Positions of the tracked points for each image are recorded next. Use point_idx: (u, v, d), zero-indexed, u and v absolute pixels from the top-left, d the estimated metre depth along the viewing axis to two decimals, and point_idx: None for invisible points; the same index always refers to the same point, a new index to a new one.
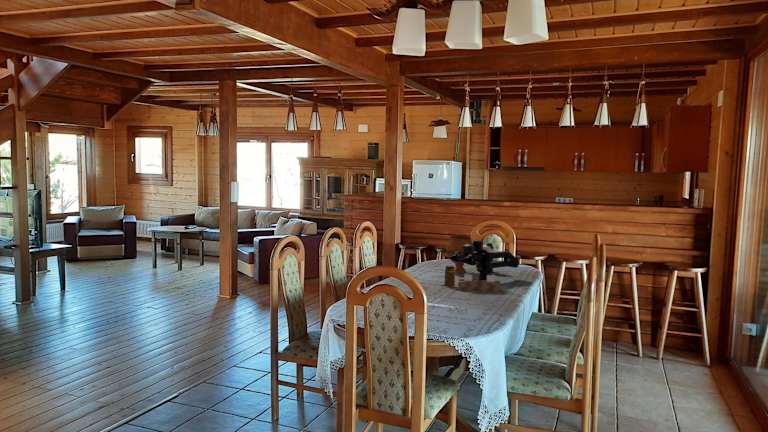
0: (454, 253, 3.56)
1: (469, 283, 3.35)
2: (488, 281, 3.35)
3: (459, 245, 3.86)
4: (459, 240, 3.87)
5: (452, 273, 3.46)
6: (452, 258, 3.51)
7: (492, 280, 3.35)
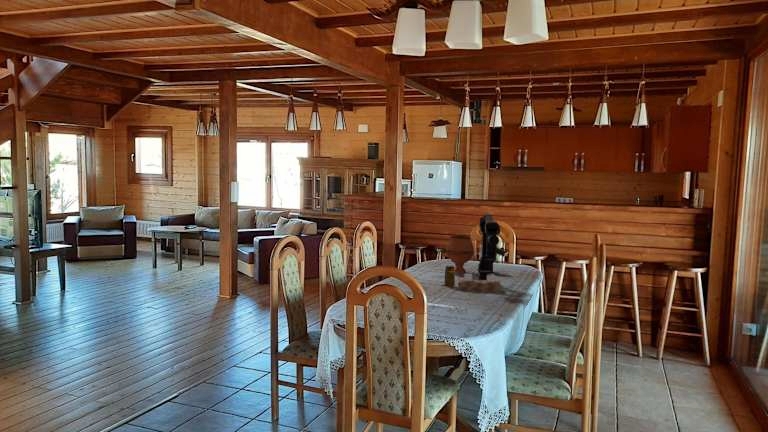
0: (494, 260, 3.29)
1: (469, 283, 3.35)
2: (488, 281, 3.35)
3: (459, 245, 3.86)
4: (459, 240, 3.87)
5: (452, 273, 3.46)
6: None
7: (492, 280, 3.35)
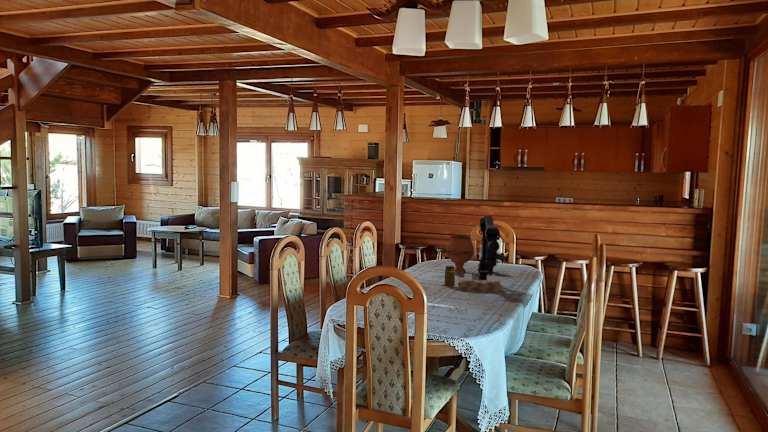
0: None
1: (469, 283, 3.35)
2: (488, 281, 3.35)
3: (459, 245, 3.86)
4: (459, 240, 3.87)
5: (452, 273, 3.46)
6: None
7: (492, 280, 3.35)
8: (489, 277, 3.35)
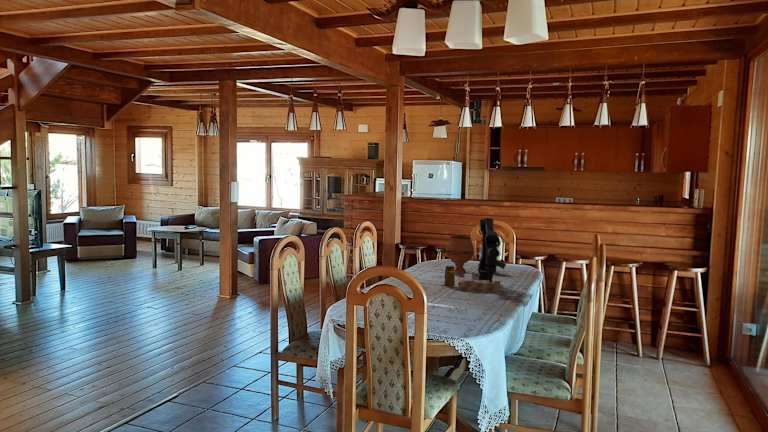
0: None
1: (469, 283, 3.35)
2: None
3: (459, 245, 3.86)
4: (459, 240, 3.87)
5: (452, 273, 3.46)
6: None
7: None
8: None
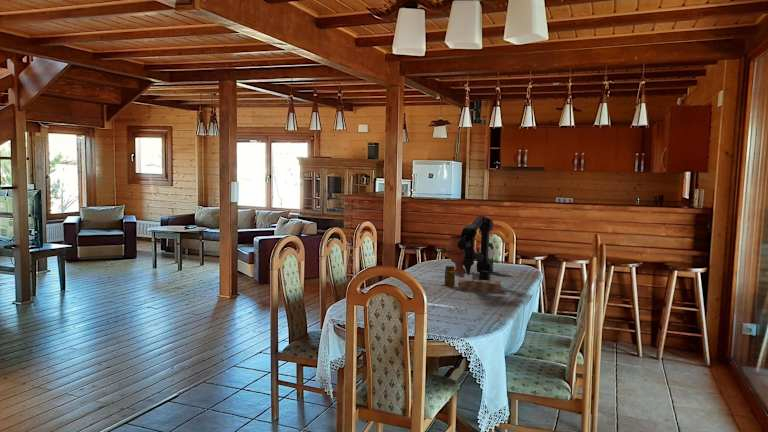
0: None
1: (469, 283, 3.35)
2: None
3: None
4: (459, 240, 3.87)
5: (452, 273, 3.46)
6: None
7: None
8: None
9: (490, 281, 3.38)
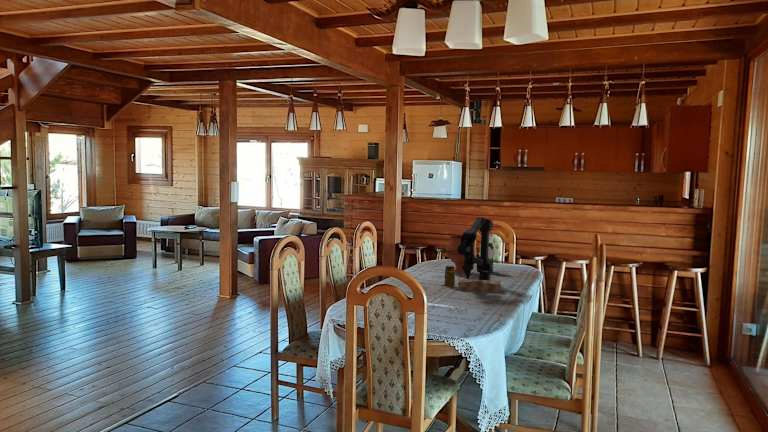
0: (471, 269, 3.35)
1: (469, 283, 3.35)
2: None
3: None
4: (459, 240, 3.87)
5: (452, 273, 3.46)
6: None
7: None
8: None
9: (490, 281, 3.38)
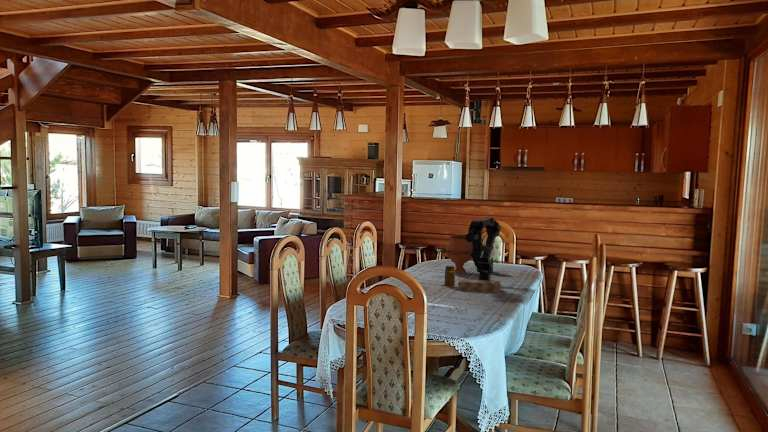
0: (479, 256, 3.46)
1: (469, 283, 3.35)
2: None
3: (459, 245, 3.86)
4: (459, 240, 3.87)
5: (452, 273, 3.46)
6: None
7: None
8: None
9: (490, 281, 3.38)
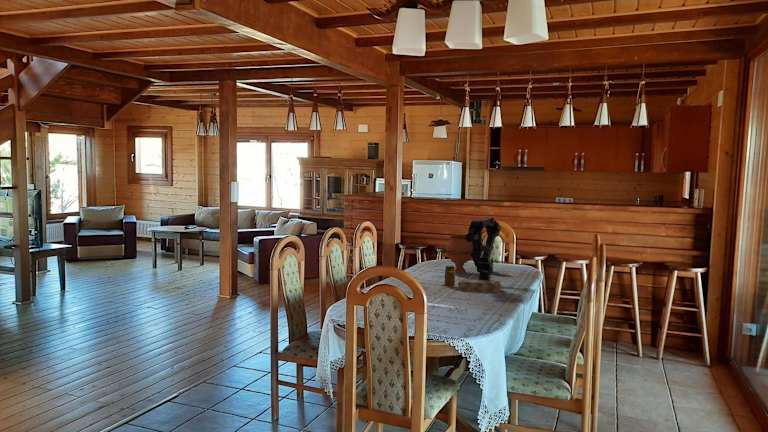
0: (479, 256, 3.46)
1: (469, 283, 3.35)
2: None
3: (459, 245, 3.86)
4: (459, 240, 3.87)
5: (452, 273, 3.46)
6: None
7: None
8: None
9: (490, 281, 3.38)
